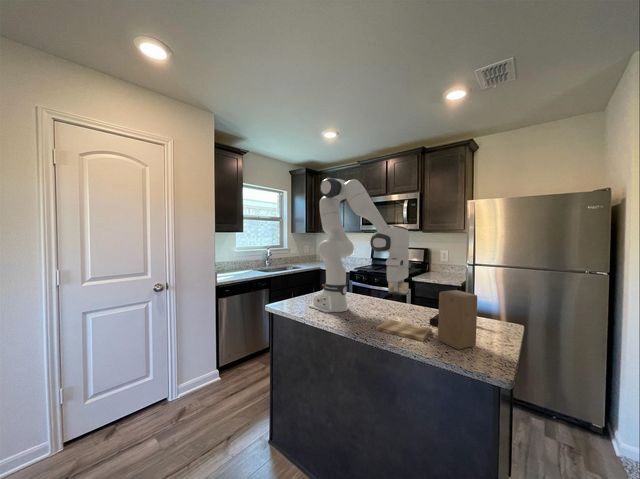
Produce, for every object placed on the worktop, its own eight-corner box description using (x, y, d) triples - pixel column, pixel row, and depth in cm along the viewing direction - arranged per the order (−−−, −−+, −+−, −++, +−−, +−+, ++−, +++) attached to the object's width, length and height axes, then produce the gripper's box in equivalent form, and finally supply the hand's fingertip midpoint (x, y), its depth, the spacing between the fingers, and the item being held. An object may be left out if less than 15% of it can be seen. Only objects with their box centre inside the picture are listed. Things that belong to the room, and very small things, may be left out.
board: (376, 330, 120) (376, 326, 120) (387, 322, 131) (387, 319, 131) (423, 341, 108) (423, 337, 108) (431, 332, 119) (431, 328, 119)
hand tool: (437, 327, 125) (438, 317, 125) (429, 325, 128) (429, 315, 128) (450, 318, 139) (450, 309, 139) (442, 316, 142) (442, 307, 142)
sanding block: (388, 292, 128) (388, 282, 128) (391, 291, 132) (391, 281, 132) (405, 295, 124) (405, 284, 124) (408, 293, 128) (408, 282, 128)
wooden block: (458, 350, 100) (459, 296, 100) (436, 340, 109) (438, 291, 109) (477, 346, 104) (478, 294, 104) (454, 337, 113) (456, 289, 113)
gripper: (399, 258, 138) (398, 285, 138) (384, 261, 121) (383, 292, 122) (412, 259, 134) (411, 287, 135) (398, 262, 118) (397, 294, 118)
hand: (398, 289), depth 128 cm, fingers closed on sanding block, 4 cm apart
